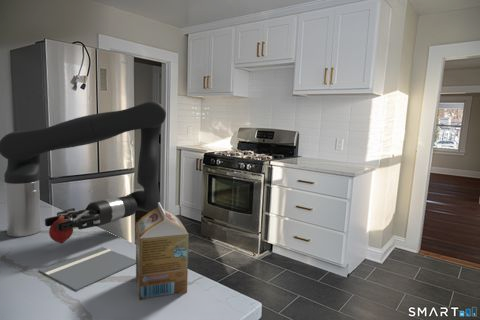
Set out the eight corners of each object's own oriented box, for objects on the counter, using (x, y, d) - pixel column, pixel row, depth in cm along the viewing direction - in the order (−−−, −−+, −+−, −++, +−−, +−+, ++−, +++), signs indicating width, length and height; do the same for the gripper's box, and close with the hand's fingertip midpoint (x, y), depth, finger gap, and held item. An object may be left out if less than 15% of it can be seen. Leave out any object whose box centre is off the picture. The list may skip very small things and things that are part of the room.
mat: (38, 271, 79) (38, 269, 79) (102, 248, 94) (102, 246, 94) (76, 291, 71) (76, 289, 71) (139, 262, 86) (139, 260, 86)
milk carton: (136, 277, 78) (136, 203, 76) (178, 271, 82) (179, 200, 80) (139, 300, 69) (139, 216, 66) (187, 292, 72) (189, 212, 70)
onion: (62, 248, 85) (61, 220, 84) (44, 246, 86) (43, 217, 85) (77, 240, 91) (77, 214, 90) (60, 238, 92) (59, 212, 91)
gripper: (92, 196, 103) (37, 206, 89) (121, 204, 96) (66, 217, 82) (92, 218, 104) (37, 232, 90) (120, 227, 97) (66, 244, 83)
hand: (51, 225), depth 86 cm, fingers closed on onion, 5 cm apart
